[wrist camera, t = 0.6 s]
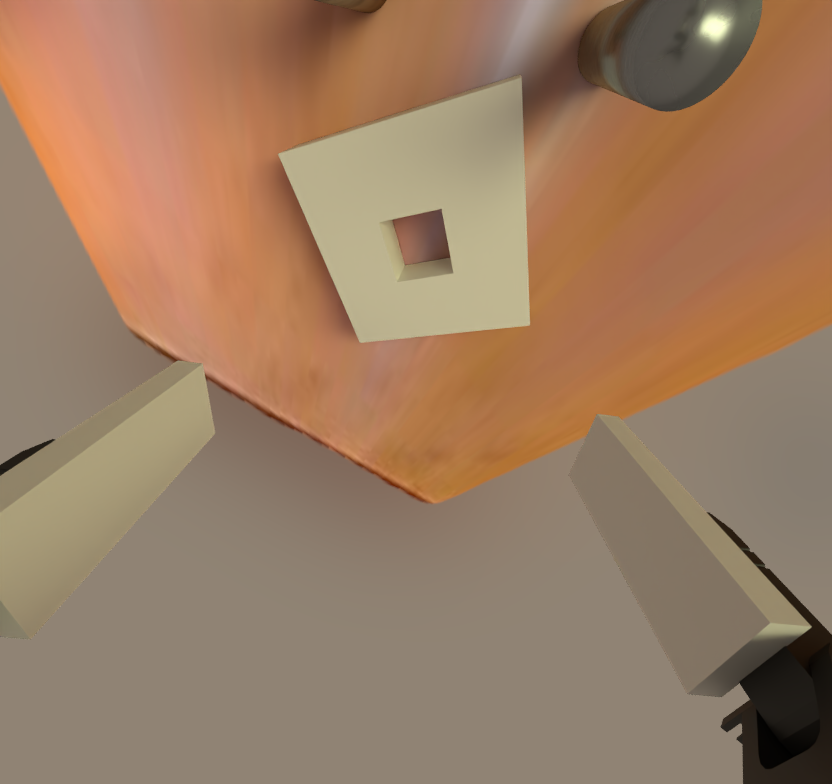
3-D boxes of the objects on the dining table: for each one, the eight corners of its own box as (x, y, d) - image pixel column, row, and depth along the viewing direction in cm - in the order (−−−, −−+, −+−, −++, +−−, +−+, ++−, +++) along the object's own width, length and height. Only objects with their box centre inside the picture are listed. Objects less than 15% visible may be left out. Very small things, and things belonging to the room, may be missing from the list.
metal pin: (579, 16, 24) (643, -12, 12) (646, -7, 22) (783, -61, 11) (575, 91, 26) (625, 123, 15) (635, 74, 25) (738, 95, 14)
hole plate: (297, 144, 32) (277, 153, 29) (520, 74, 26) (521, 77, 23) (369, 324, 45) (359, 342, 42) (528, 305, 39) (529, 325, 36)
